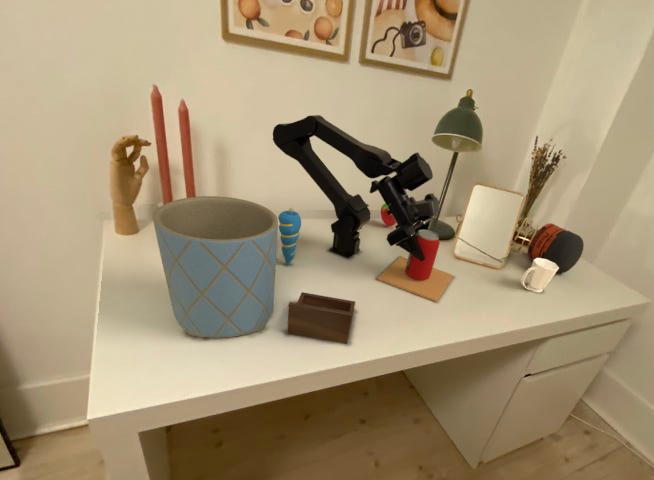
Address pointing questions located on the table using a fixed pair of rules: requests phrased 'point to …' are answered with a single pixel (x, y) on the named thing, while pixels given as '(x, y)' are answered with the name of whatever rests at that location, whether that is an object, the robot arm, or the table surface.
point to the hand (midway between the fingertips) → (427, 255)
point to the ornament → (289, 233)
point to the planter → (218, 263)
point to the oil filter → (556, 247)
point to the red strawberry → (387, 216)
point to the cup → (539, 274)
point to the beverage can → (429, 249)
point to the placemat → (423, 288)
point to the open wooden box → (321, 318)
